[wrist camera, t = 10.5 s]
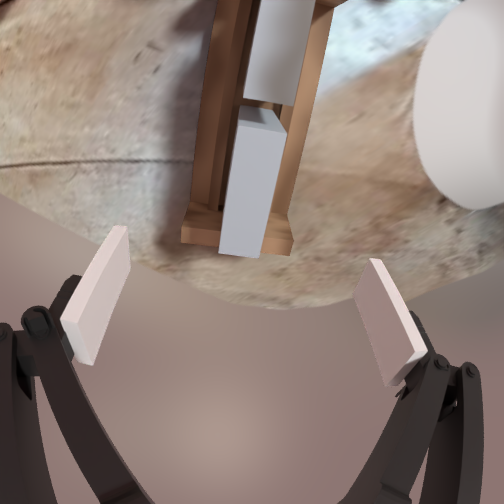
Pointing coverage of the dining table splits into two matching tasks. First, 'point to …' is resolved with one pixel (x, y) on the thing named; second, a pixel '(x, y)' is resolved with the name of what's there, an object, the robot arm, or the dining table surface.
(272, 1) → the wooden slotted stand
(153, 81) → the dining table surface
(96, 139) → the dining table surface
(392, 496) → the robot arm
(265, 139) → the gray angular faceted block
